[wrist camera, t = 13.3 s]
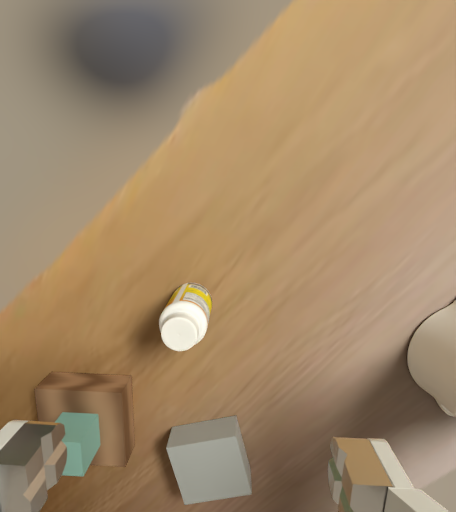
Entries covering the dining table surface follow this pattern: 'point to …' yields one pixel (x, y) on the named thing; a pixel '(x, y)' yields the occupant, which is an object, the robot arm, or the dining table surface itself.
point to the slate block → (209, 460)
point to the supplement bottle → (185, 317)
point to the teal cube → (79, 441)
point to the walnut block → (93, 409)
